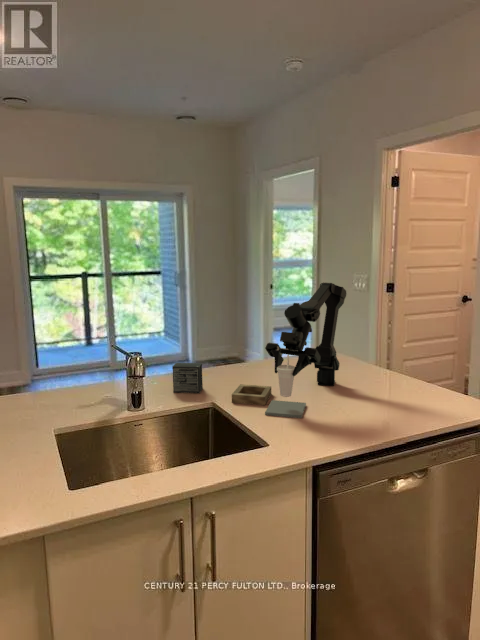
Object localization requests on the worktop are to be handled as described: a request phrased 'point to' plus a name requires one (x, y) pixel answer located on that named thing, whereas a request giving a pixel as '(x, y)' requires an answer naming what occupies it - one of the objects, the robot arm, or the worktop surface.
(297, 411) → the coaster
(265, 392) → the holder
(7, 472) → the worktop surface
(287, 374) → the smoothie
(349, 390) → the worktop surface
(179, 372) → the small box
